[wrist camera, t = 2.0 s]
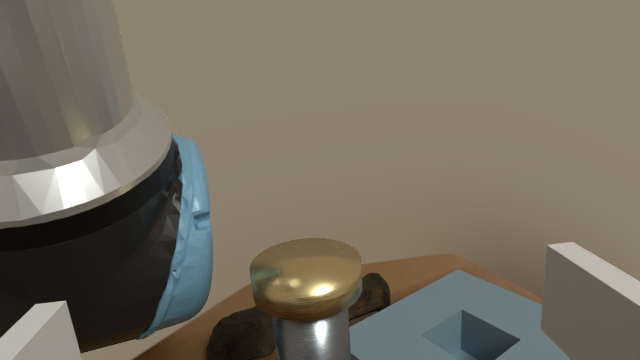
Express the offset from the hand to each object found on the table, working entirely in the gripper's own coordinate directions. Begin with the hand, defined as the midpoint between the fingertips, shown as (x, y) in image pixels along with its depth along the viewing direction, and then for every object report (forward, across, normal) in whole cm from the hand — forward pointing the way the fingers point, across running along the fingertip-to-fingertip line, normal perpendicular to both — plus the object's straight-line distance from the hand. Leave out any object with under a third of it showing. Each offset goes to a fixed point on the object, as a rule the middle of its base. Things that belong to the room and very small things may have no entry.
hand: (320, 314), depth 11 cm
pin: (+9, 0, -19) cm, 22 cm away
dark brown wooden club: (+26, 0, -20) cm, 32 cm away
